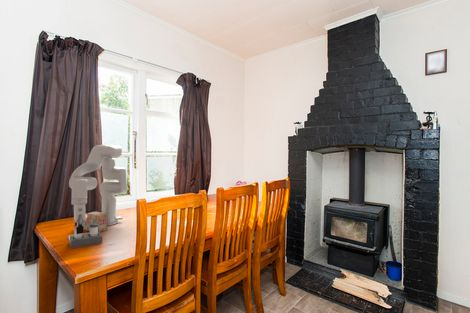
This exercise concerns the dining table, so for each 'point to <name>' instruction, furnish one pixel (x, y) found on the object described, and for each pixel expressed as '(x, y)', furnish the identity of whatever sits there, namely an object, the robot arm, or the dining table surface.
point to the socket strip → (85, 240)
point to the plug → (77, 236)
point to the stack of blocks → (96, 221)
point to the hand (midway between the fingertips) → (78, 231)
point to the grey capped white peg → (93, 229)
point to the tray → (73, 235)
